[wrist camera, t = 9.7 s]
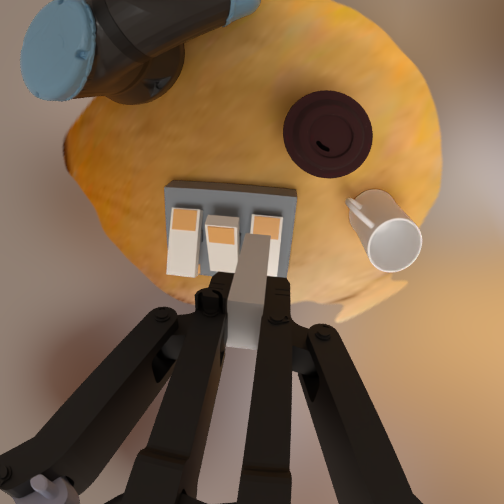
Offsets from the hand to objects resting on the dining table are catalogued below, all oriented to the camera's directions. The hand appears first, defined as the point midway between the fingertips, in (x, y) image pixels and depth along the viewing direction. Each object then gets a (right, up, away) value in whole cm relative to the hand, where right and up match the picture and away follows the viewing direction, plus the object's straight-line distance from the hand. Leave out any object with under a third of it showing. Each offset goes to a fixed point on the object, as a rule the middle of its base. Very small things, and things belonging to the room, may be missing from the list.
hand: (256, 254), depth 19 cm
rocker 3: (+2, 0, +26) cm, 26 cm away
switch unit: (-4, +4, +33) cm, 33 cm away
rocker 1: (-10, +2, +27) cm, 29 cm away
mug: (+18, +8, +29) cm, 35 cm away
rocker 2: (-4, +2, +27) cm, 28 cm away
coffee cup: (+9, +19, +24) cm, 32 cm away
